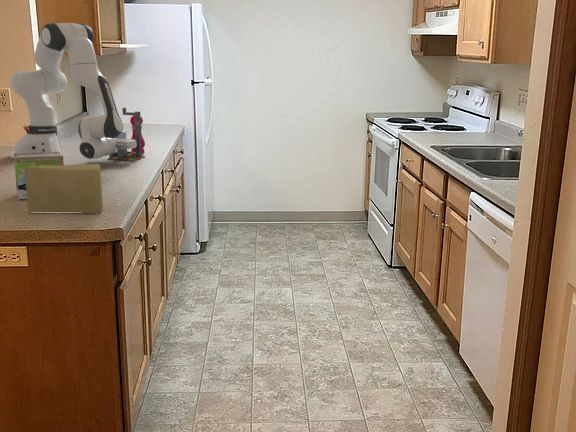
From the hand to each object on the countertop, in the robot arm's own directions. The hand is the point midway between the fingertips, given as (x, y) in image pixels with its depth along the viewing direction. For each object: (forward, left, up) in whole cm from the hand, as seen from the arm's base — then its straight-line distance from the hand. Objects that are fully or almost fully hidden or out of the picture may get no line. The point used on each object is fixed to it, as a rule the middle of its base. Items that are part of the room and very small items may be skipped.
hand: (122, 140), depth 283 cm
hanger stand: (+1, -1, -8) cm, 8 cm away
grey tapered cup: (-1, -1, -8) cm, 8 cm away
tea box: (-51, -56, -9) cm, 76 cm away
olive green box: (-50, -81, -9) cm, 96 cm away
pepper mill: (+11, +10, -8) cm, 18 cm away
